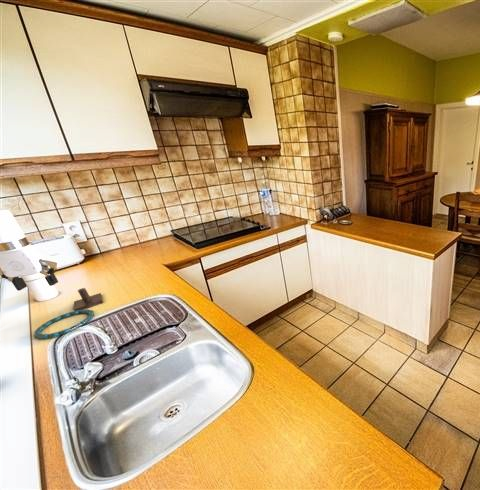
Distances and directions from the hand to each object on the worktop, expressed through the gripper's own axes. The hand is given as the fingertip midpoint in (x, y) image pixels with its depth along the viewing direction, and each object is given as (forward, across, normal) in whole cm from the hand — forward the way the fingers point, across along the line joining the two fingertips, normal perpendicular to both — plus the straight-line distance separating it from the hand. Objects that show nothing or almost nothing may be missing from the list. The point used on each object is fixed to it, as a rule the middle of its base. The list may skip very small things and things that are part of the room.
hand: (38, 286), depth 100 cm
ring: (+18, +2, 0) cm, 18 cm away
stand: (+18, 0, +15) cm, 24 cm away
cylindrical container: (+18, -25, +29) cm, 43 cm away
